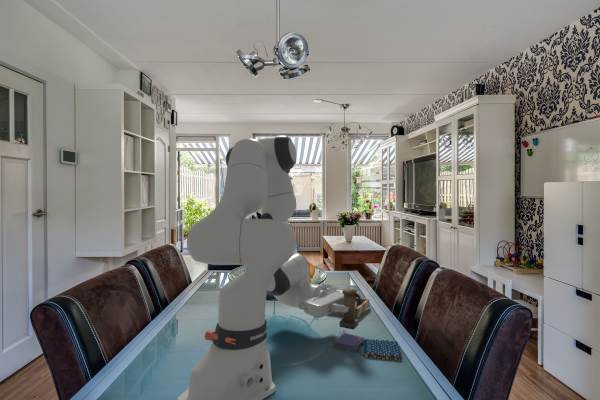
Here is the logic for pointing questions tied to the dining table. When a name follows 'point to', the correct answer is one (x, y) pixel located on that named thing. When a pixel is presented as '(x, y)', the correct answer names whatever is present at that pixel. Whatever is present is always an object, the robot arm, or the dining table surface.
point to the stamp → (349, 316)
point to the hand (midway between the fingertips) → (351, 307)
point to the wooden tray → (359, 309)
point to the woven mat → (382, 349)
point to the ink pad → (349, 342)
